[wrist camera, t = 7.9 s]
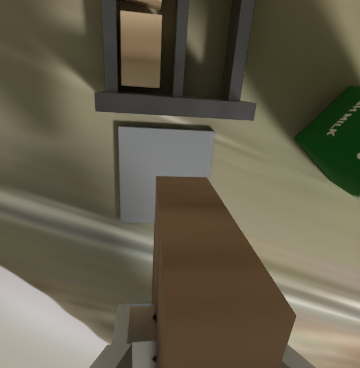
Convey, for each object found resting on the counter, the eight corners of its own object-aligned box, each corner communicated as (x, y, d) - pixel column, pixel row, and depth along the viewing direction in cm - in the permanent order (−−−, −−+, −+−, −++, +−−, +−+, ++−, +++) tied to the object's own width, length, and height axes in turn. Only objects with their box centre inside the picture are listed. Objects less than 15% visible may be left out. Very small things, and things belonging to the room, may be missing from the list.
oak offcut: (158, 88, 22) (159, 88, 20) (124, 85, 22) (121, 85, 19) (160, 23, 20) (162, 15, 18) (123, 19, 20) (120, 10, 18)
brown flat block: (191, 311, 15) (230, 519, 8) (151, 313, 15) (153, 532, 8) (206, 177, 12) (296, 315, 5) (156, 175, 12) (168, 322, 4)
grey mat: (203, 220, 27) (204, 223, 27) (121, 220, 26) (120, 222, 26) (213, 130, 24) (215, 131, 23) (119, 125, 23) (118, 126, 22)
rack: (229, 112, 23) (253, 120, 18) (109, 104, 22) (95, 111, 16) (256, -90, 18) (303, -167, 12) (101, -117, 17) (77, -218, 11)
